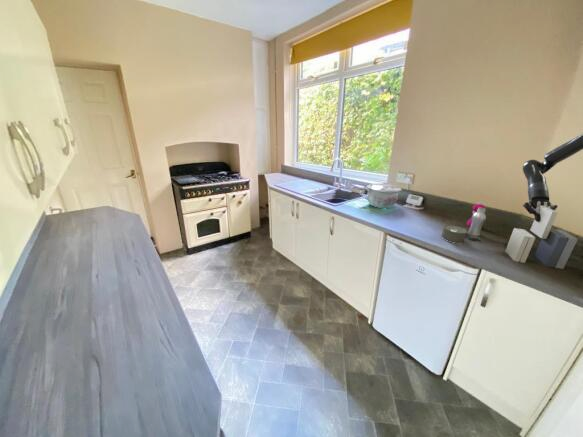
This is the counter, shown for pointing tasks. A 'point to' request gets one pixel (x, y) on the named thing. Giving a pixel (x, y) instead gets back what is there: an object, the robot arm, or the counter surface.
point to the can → (454, 233)
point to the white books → (519, 245)
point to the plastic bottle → (477, 223)
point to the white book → (544, 222)
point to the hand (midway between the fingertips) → (541, 221)
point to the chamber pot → (381, 195)
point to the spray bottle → (475, 211)
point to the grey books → (555, 248)
